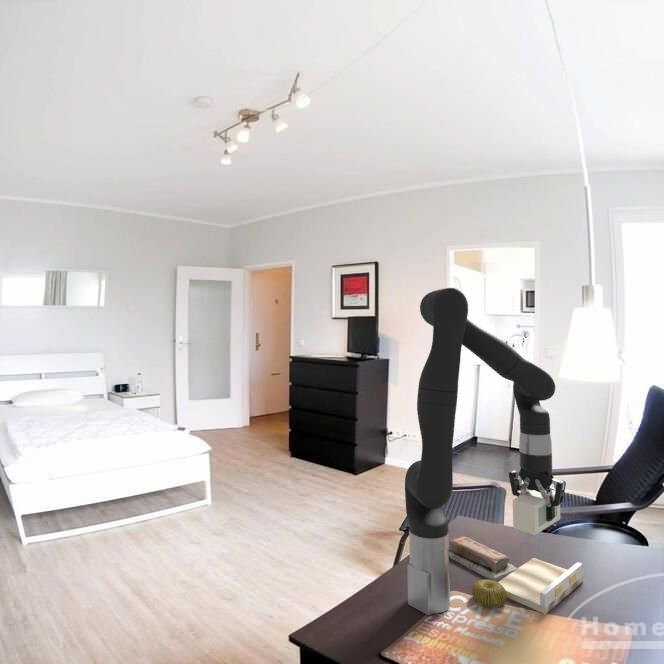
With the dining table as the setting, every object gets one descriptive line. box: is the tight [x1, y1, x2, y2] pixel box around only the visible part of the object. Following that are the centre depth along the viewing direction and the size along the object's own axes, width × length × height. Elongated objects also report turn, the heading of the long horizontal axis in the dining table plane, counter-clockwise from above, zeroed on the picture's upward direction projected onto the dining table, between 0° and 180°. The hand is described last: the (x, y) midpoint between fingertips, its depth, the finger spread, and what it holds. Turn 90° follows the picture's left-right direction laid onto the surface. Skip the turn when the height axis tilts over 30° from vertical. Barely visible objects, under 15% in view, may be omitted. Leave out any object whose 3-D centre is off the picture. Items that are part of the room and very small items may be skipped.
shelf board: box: [497, 557, 584, 615], centre depth 118 cm, size 21×13×2 cm, turn 131°
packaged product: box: [449, 535, 519, 582], centre depth 131 cm, size 18×5×10 cm
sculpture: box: [471, 578, 508, 609], centre depth 112 cm, size 8×4×8 cm
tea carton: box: [512, 489, 561, 536], centre depth 118 cm, size 6×14×7 cm, turn 131°
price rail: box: [540, 561, 584, 608], centre depth 113 cm, size 21×1×3 cm, turn 131°
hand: (537, 516), depth 118 cm, fingers closed on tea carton, 5 cm apart
